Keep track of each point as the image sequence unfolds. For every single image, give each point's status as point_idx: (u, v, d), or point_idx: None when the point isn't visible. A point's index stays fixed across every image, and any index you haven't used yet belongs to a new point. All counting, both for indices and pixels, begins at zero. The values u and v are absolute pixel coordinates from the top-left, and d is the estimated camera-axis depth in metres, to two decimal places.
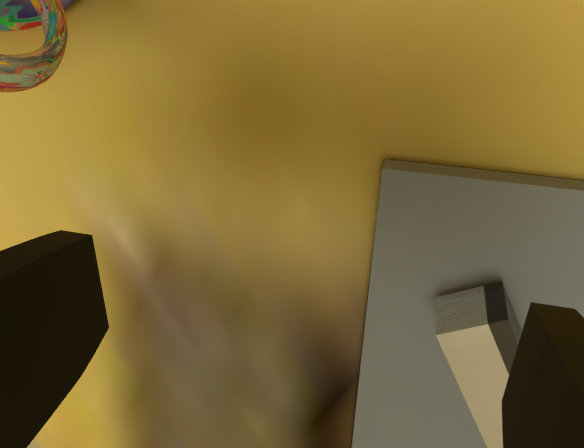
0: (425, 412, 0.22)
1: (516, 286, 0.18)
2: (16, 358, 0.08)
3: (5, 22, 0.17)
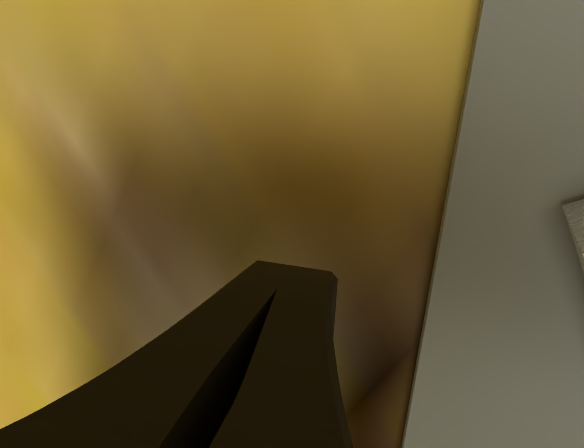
0: (519, 396, 0.15)
1: None
2: None
3: None
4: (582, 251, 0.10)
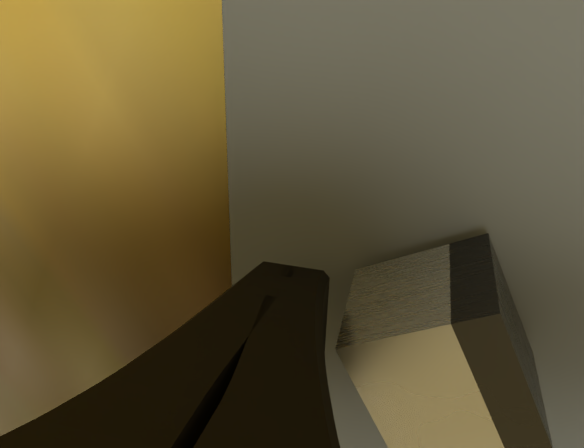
0: None
1: (518, 246, 0.09)
2: None
3: None
4: (337, 345, 0.08)
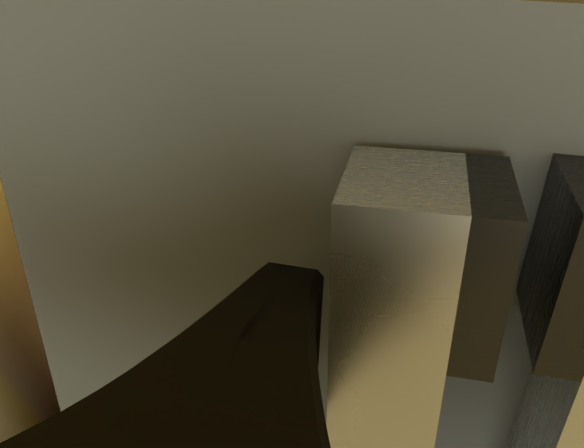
0: None
1: (236, 211, 0.10)
2: None
3: None
4: (333, 201, 0.07)
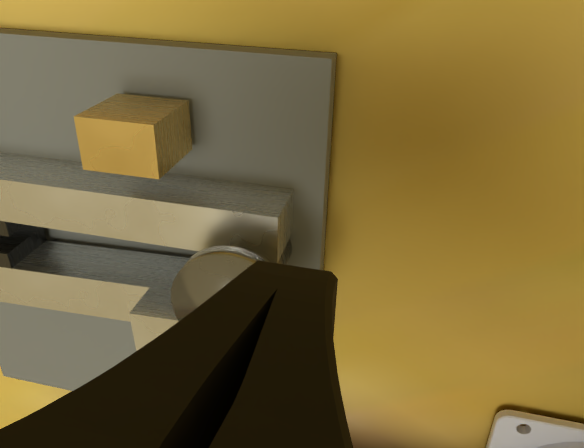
0: None
1: None
2: None
3: None
4: None
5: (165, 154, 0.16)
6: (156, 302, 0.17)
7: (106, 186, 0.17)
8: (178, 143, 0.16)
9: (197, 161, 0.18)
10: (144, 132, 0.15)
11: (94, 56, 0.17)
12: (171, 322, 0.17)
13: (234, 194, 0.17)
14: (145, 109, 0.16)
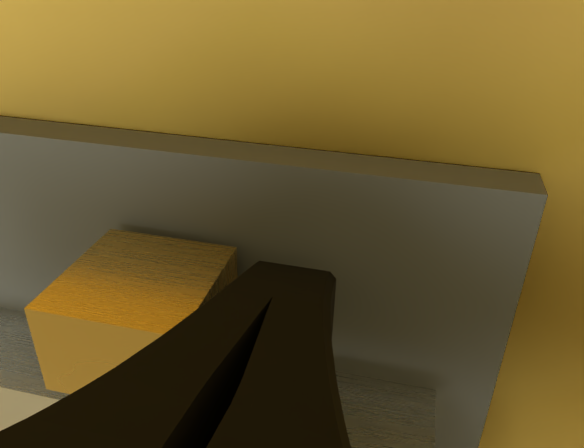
0: None
1: None
2: None
3: None
4: None
5: None
6: None
7: None
8: None
9: None
10: None
11: (92, 168, 0.10)
12: None
13: None
14: (161, 281, 0.09)
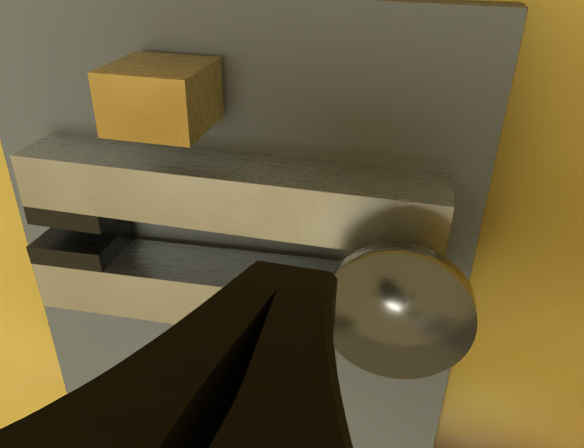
0: None
1: None
2: None
3: None
4: (46, 303, 0.17)
5: (196, 118, 0.13)
6: None
7: (227, 172, 0.14)
8: (209, 106, 0.14)
9: (332, 141, 0.15)
10: (173, 89, 0.12)
11: (214, 13, 0.14)
12: None
13: (385, 180, 0.14)
14: (172, 65, 0.13)
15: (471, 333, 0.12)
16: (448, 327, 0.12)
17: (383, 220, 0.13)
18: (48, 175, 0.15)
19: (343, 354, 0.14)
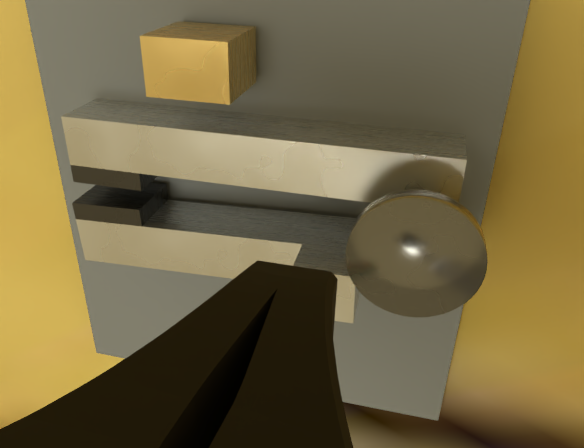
0: None
1: (161, 277, 0.21)
2: None
3: None
4: (87, 258, 0.19)
5: (235, 78, 0.15)
6: (316, 258, 0.16)
7: (260, 131, 0.16)
8: (245, 70, 0.15)
9: (355, 105, 0.16)
10: (217, 51, 0.14)
11: None
12: (341, 277, 0.15)
13: (403, 139, 0.16)
14: (213, 32, 0.15)
15: (481, 271, 0.14)
16: (461, 266, 0.14)
17: (402, 173, 0.15)
18: (95, 135, 0.17)
19: (365, 294, 0.15)
